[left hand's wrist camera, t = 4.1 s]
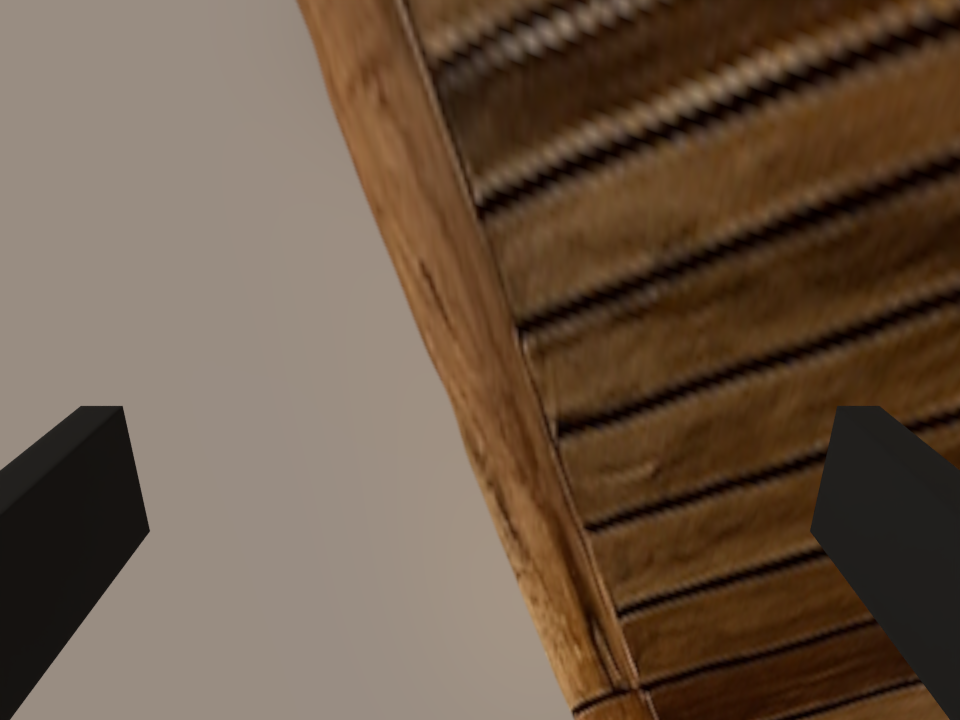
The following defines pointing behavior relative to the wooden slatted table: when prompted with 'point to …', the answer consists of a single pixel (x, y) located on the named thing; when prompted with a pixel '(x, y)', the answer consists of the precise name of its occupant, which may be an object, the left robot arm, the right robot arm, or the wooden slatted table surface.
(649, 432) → the wooden slatted table surface
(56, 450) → the left robot arm
